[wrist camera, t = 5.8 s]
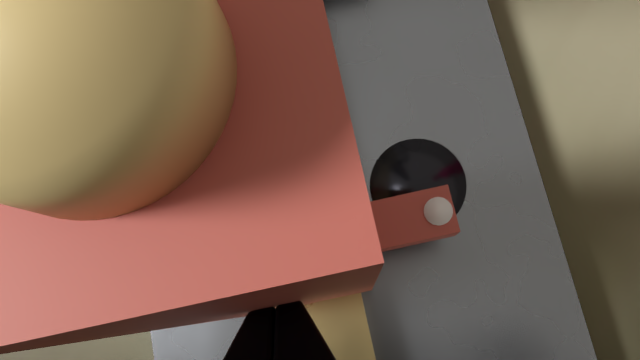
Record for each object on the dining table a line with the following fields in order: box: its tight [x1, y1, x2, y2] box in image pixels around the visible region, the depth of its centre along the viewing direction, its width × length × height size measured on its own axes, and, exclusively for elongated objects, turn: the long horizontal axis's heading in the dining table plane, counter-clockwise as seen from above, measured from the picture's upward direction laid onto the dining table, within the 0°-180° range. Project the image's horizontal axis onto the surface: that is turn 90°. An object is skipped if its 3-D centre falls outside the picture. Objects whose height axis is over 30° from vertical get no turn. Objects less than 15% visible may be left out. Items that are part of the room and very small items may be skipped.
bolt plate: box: [150, 0, 597, 360], centre depth 17 cm, size 24×12×2 cm, turn 12°
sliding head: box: [0, 0, 461, 354], centre depth 9 cm, size 3×5×14 cm, turn 102°
